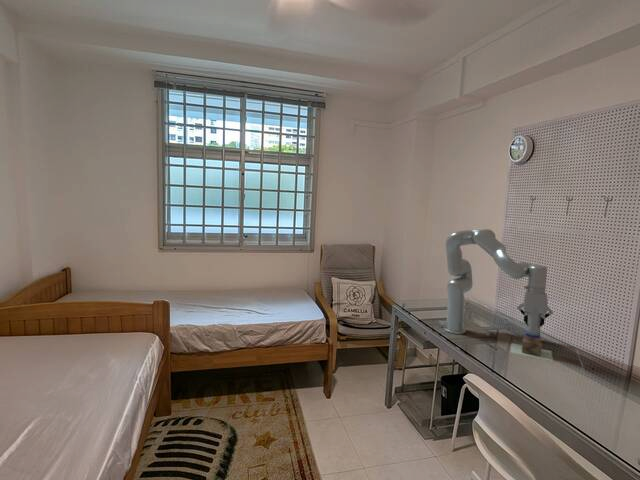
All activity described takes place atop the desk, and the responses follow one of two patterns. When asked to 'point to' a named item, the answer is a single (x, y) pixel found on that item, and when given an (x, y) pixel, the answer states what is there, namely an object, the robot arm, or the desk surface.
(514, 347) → the base board
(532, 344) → the walnut block
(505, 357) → the desk surface
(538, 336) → the stacking toy
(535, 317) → the energy drink can
